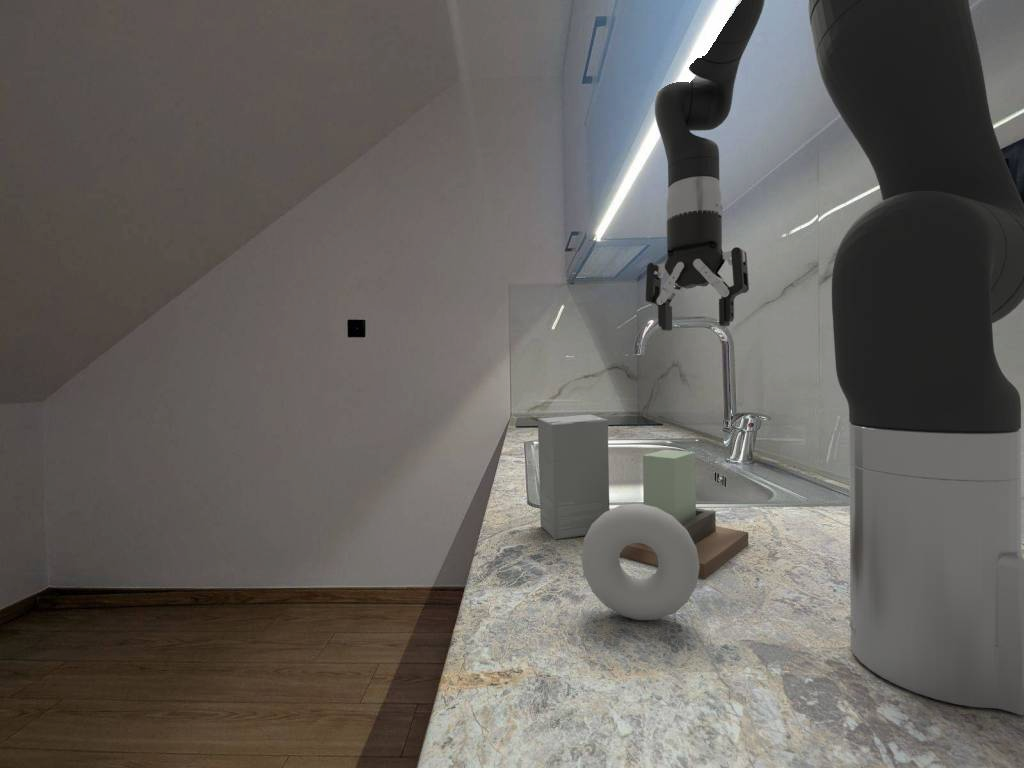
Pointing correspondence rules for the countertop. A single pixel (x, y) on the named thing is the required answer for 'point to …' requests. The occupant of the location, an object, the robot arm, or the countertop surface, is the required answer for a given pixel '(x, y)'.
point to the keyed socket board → (699, 543)
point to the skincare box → (572, 473)
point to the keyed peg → (670, 483)
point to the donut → (633, 594)
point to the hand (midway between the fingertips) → (694, 328)
